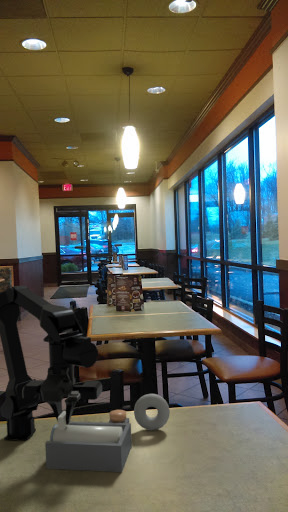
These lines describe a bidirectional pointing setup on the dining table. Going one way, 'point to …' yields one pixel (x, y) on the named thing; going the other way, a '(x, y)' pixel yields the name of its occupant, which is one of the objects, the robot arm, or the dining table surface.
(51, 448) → the housing
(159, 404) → the donut
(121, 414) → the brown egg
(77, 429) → the cartridge
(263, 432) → the dining table surface
